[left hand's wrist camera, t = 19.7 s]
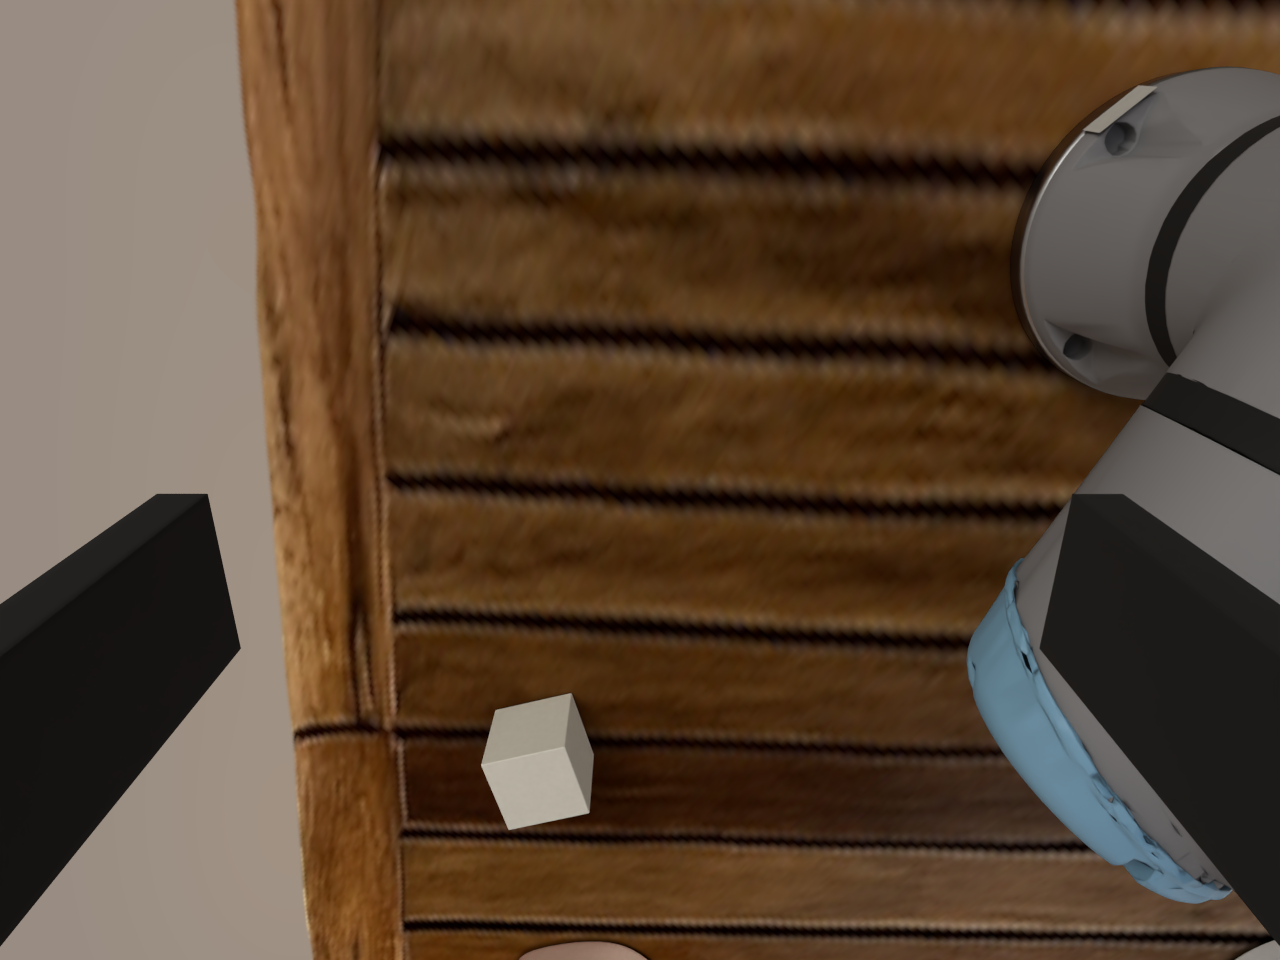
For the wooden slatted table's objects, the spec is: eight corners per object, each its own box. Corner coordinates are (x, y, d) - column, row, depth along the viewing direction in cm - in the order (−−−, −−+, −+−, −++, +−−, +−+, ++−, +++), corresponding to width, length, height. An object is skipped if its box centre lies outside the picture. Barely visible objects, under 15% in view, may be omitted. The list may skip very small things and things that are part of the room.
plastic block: (571, 692, 50) (564, 747, 46) (594, 755, 52) (589, 813, 48) (495, 709, 51) (480, 765, 46) (520, 771, 53) (508, 830, 48)
